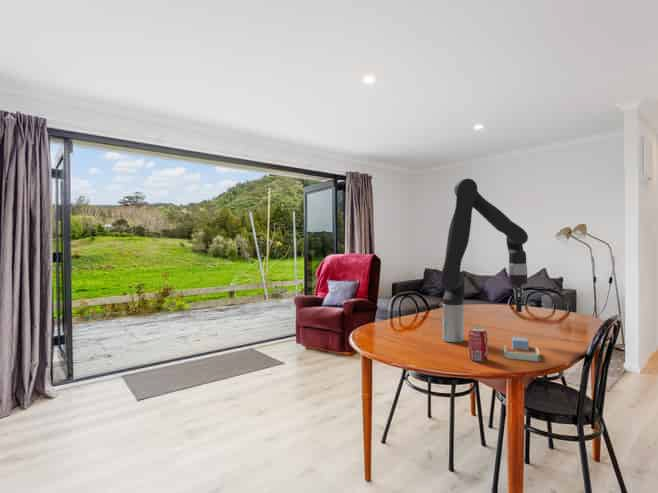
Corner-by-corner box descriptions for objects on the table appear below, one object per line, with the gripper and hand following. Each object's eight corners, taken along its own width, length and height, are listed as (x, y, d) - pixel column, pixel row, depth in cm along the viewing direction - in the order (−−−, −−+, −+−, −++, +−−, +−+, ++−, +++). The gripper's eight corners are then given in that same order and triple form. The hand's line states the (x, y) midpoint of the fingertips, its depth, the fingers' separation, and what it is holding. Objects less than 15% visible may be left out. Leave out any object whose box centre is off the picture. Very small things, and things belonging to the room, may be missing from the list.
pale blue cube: (512, 349, 163) (512, 340, 163) (511, 346, 168) (511, 337, 168) (528, 350, 160) (528, 341, 160) (527, 347, 166) (527, 338, 166)
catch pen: (504, 358, 151) (504, 351, 151) (504, 350, 161) (504, 344, 161) (540, 361, 146) (540, 355, 145) (538, 353, 155) (537, 347, 155)
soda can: (483, 356, 153) (482, 326, 153) (491, 362, 146) (490, 331, 146) (465, 357, 153) (465, 327, 153) (473, 362, 146) (472, 331, 146)
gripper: (528, 274, 165) (529, 314, 165) (526, 272, 177) (527, 309, 177) (508, 274, 168) (510, 313, 168) (508, 272, 180) (509, 309, 180)
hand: (519, 311), depth 172 cm, fingers closed
